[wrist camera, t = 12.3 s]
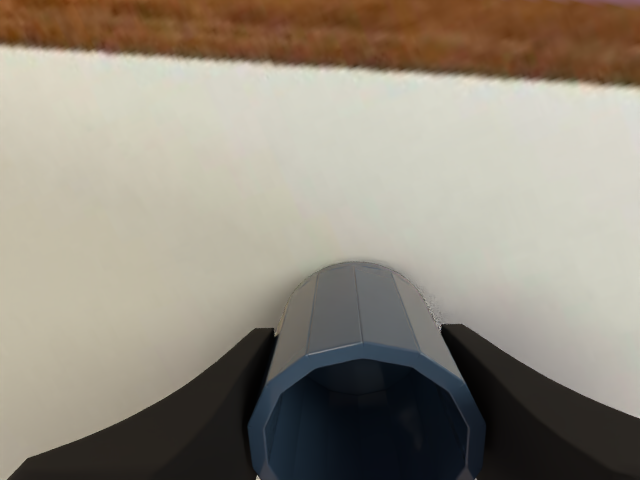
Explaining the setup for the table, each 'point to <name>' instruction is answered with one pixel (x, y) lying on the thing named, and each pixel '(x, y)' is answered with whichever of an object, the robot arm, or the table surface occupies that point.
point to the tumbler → (362, 387)
